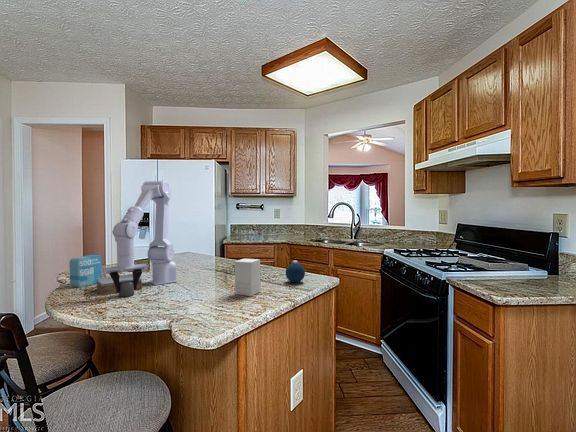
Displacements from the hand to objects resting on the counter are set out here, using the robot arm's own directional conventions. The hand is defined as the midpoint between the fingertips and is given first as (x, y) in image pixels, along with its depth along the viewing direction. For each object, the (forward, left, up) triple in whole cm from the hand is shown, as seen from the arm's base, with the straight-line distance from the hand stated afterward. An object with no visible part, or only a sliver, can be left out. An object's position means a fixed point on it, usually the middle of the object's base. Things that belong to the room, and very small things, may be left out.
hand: (126, 290), depth 126 cm
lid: (0, -12, +2) cm, 12 cm away
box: (0, -12, -2) cm, 12 cm away
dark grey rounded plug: (0, 0, -1) cm, 1 cm away
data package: (+9, -30, -2) cm, 31 cm away
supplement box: (-37, +26, -2) cm, 45 cm away
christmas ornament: (-62, +24, -2) cm, 67 cm away
